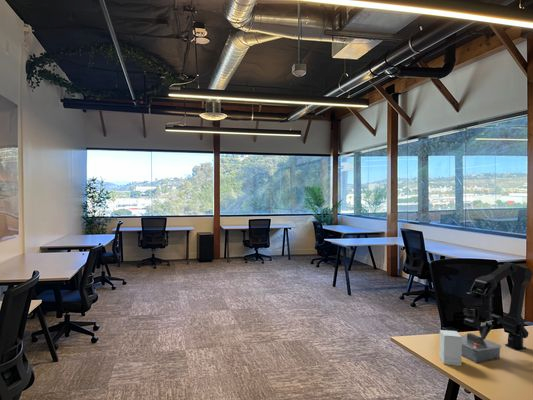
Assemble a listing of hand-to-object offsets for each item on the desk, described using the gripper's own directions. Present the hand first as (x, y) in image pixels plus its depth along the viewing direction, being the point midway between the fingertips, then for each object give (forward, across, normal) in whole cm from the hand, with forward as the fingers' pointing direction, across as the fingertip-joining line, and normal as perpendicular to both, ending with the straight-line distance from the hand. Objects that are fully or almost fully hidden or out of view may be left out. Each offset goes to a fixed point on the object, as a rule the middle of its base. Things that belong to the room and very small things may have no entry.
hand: (483, 338), depth 171 cm
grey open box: (+7, +5, 0) cm, 9 cm away
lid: (+1, +5, 0) cm, 5 cm away
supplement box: (+7, +22, +2) cm, 23 cm away
